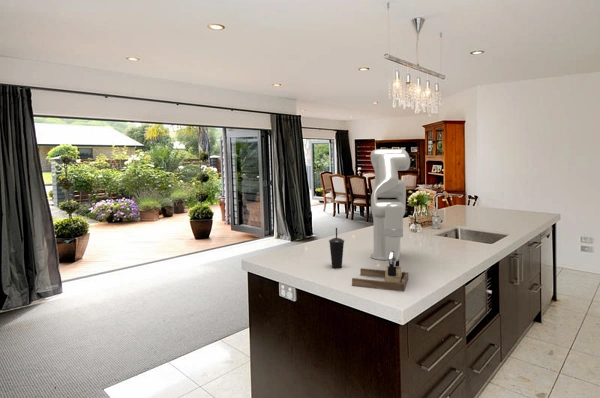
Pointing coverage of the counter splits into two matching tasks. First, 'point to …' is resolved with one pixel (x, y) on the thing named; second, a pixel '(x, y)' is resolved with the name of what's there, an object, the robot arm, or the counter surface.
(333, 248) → the drinking cup
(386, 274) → the light wooden block
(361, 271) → the bay
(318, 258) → the counter surface
